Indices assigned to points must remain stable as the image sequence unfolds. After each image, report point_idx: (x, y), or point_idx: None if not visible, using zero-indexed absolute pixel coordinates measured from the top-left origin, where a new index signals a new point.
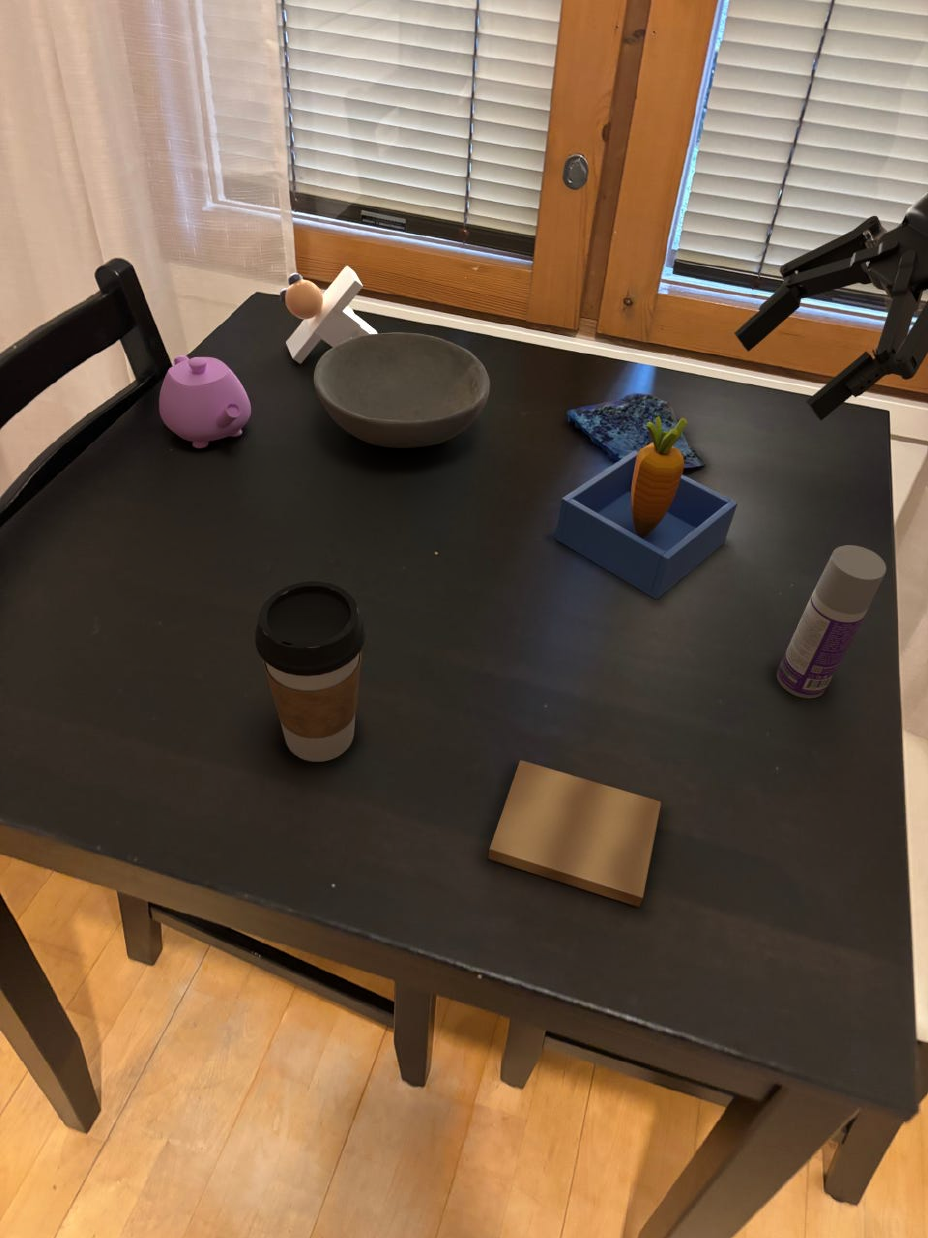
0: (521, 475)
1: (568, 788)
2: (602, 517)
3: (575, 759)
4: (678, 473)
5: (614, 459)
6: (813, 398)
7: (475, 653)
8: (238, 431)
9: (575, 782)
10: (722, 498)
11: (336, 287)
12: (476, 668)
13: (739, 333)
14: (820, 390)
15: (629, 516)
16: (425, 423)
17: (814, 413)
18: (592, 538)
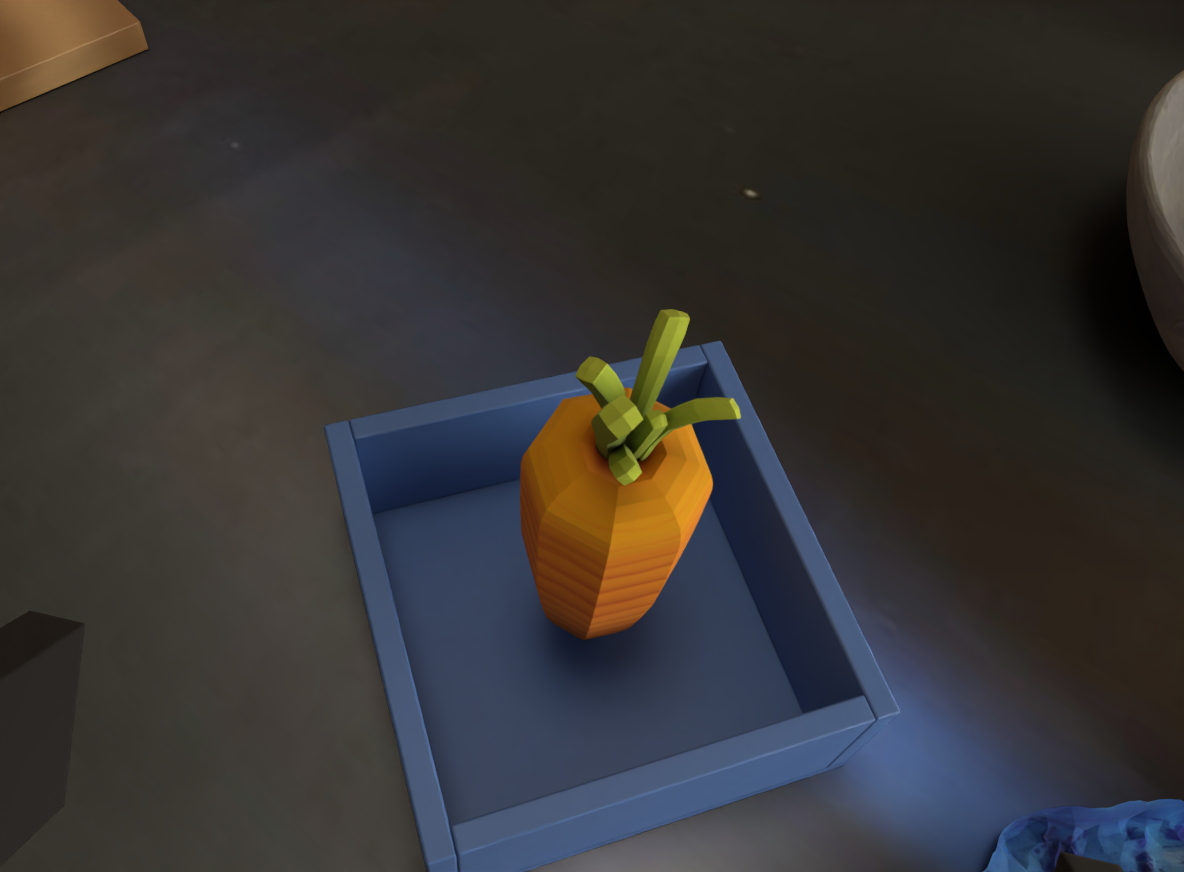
0: (1003, 506)
1: (32, 43)
2: None
3: (95, 121)
4: (530, 502)
5: (1014, 824)
6: (29, 632)
7: (432, 119)
8: None
9: (31, 55)
10: (481, 821)
11: None
12: (396, 104)
13: (1078, 866)
14: (2, 670)
15: (689, 657)
16: (1140, 175)
17: (67, 770)
18: None
